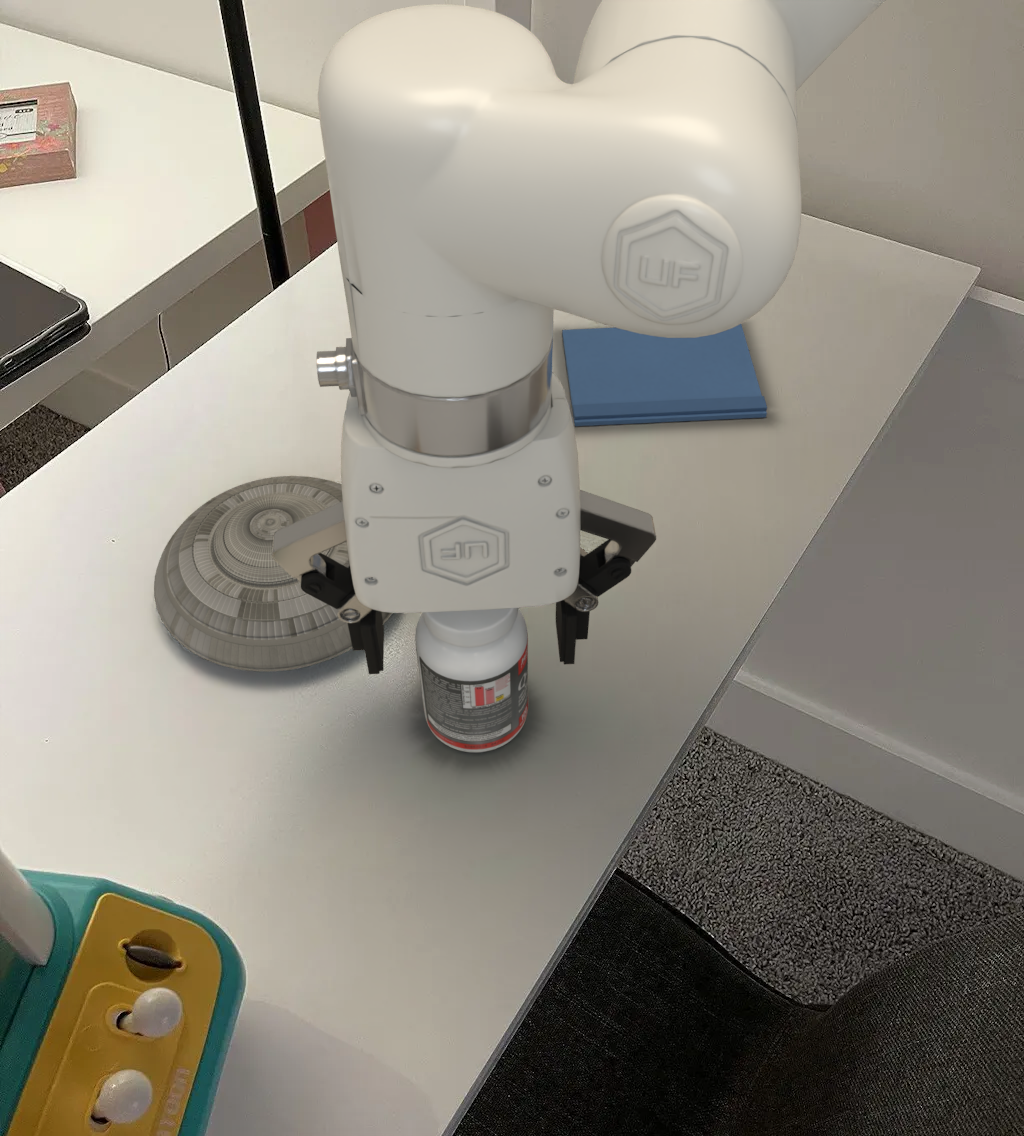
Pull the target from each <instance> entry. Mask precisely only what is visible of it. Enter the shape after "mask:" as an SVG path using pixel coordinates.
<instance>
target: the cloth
mask: <svg viewBox="0 0 1024 1136" xmlns="http://www.w3.org/2000/svg"><path fill="white" fill-rule="evenodd" d="M561 336H562V343H563V344H562V345H563V351H564V356H565V366H566V373H567V380H568V388H569V395H570V404H571V411H572V419H573V425H574V427H590V426H608V425H630V424H633V425H634V424H650V423H651V424H655V423H673V422H674V423H675V422H694V421H695V422H698V421H716V420H717V421H718V420H737V419H738V420H739V419H757V418H758V419H759V418H760V419H761V418H767V414H768V412H767V411H768V406H767V402H766V399H765V396H764V395H762V391H761V387H760V384H759V380H758V377H757V373H756V370H755V366H754V363H753V360H752V357H751V353H750V349H749V346H748V343H747V342H748V341H747V339H746V335H745V332H744V328H743V325H742V323H741V324H739V325H737V326H735V327H733V328H731V329H728V330H726V331H723V332H720V333H716V334H713V335H708V336H702V337H695V338H666V337H657V336H651V335H645V334H639V333H635V332H631V331H627V330H623V329H619V328H615V327H596V328H574V329H571V328H570V329H562V330H561Z"/></svg>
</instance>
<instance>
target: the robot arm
mask: <svg viewBox="0 0 1024 1136" xmlns="http://www.w3.org/2000/svg"><path fill="white" fill-rule="evenodd" d="M886 1H887V0H601V1H600V2H599V4H598V5H597V8H596V9H595V12H594V14H593V16H592V19H591V21H590V23H589V26H588V27H587V30H586V33H585V35H584V38H583V40H582V45H581V48H580V52H579V56H578V60H577V64H576V68H575V71H574V77H573V81H572V83H568V82H564V81H562V79H560V78H559V77H558V75H557V73H556V70H555V67H554V64H553V62H552V59H551V57H550V55H549V54H548V52H547V50H546V48H545V46H544V45H543V44H542V42H541V41H540V39H539V38H538V37H537V36H536V35H535V34H534V33H533V32H532V31H530V29H528V28H526V26H524V25H523V24H521V23H520V22H518V21H516V20H514V19H513V18H511V17H509V16H506V15H504V14H503V13H500V12H497V11H493V10H490V9H487V8H482V7H476V6H472V5H464V4H463V5H462V4H455V3H454V4H452V3H451V4H450V3H448V4H447V3H434V4H419V5H417V4H416V5H412V6H405V7H401V8H396V9H391V10H389V11H388V10H387V11H385V12H380V13H379V14H376V15H373V16H371V17H368V18H366V19H364V20H363V21H360V22H359V23H356V24H355V25H354V26H353V27H351V28H350V29H349V30H347V31H346V32H345V33H343V34H342V36H340V37H339V38H338V39H337V40H336V42H335V43H334V44H333V45H332V46H331V48H330V50H329V52H328V54H327V56H326V57H325V60H324V61H323V64H322V67H321V71H320V75H319V79H318V89H317V105H318V116H319V117H318V118H319V126H320V133H321V139H322V140H321V141H322V146H323V152H324V153H323V154H324V160H325V168H326V174H327V181H328V188H329V194H330V201H331V209H332V216H333V223H334V229H335V236H336V243H337V249H338V257H339V263H340V269H341V276H342V282H343V288H344V295H345V301H346V302H345V303H346V308H347V315H348V320H349V321H348V322H349V330H350V336H351V337H347V338H345V346H336V347H335V350H323V351H322V350H321V351H320V350H319V351H316V374H317V381H318V385H319V387H320V388H324V387H338V389H339V390H341V391H345V390H346V391H347V390H348V391H349V393H348V396H347V400H346V406H345V411H344V415H343V421H342V426H341V427H342V428H341V430H342V431H341V439H340V480H341V481H340V484H342V497H343V501H341V502H339V503H337V504H335V505H332V506H330V507H328V508H326V509H324V510H321V511H319V512H317V513H315V514H313V515H310V516H308V517H306V518H304V519H301V520H299V521H297V522H295V523H293V524H290V525H288V526H286V527H284V528H282V529H279V530H277V531H276V532H275V533H274V535H273V544H272V558H273V560H274V561H275V562H276V563H278V564H279V565H280V566H281V567H282V568H283V569H284V570H285V571H286V572H287V573H288V574H289V575H290V576H291V577H293V578H296V579H297V580H298V581H299V582H301V589H302V590H303V591H304V592H305V593H307V594H309V595H311V596H313V597H314V598H316V599H318V600H320V601H322V602H324V603H326V604H328V605H330V606H332V607H334V608H335V609H337V610H338V612H337V616H338V618H339V619H340V620H341V621H343V622H346V623H348V628H349V633H350V638H351V643H352V651H353V652H356V651H357V652H358V651H364V655H365V661H366V666H367V672H368V675H379V674H381V673H380V672H383V671H384V657H385V656H384V653H385V652H384V651H385V649H384V648H385V647H384V646H385V645H384V644H385V643H384V642H385V627H384V625H385V624H383V619H382V612H389V613H392V614H414V613H415V614H417V613H418V614H420V613H421V614H422V612H447V611H469V610H489V609H506V608H519V609H520V608H533V607H542V606H548V605H552V604H555V629H556V638H557V647H558V648H557V649H558V658H559V663H563V665H575V660H576V646H577V645H576V644H577V643H576V642H577V641H578V640H579V641H580V640H581V641H583V640H588V639H589V638H588V637H589V626H590V614H591V613H590V612H591V611H594V610H595V609H596V608H597V607H598V606H599V604H600V603H599V597H600V596H602V595H603V594H605V593H606V592H608V591H609V590H611V589H612V588H614V587H615V586H617V585H618V584H620V583H622V582H623V581H624V580H626V579H627V578H629V577H630V575H631V574H632V567H633V566H634V564H635V563H638V562H639V561H640V560H641V559H642V557H644V556H645V554H646V553H647V552H648V551H649V550H650V548H651V547H652V546H653V545H654V544H655V542H656V541H657V533H656V528H655V522H654V517H653V515H652V514H651V513H649V512H646V511H643V510H641V509H637V508H635V507H632V506H629V505H626V504H623V503H620V502H618V501H614V500H611V499H608V498H605V497H603V496H599V495H598V494H595V493H591V492H588V491H585V490H583V489H581V484H580V482H581V481H580V479H581V478H580V464H579V452H578V445H577V437H576V431H575V426H574V419H573V414H572V412H571V408H570V405H569V401H568V399H567V394H566V391H565V388H564V385H563V383H562V381H561V380H560V379H559V377H558V376H557V374H555V372H553V352H554V351H553V349H554V348H553V347H554V346H553V345H554V315H555V314H554V311H555V310H556V311H560V312H563V313H566V314H570V315H572V316H576V317H579V318H582V319H585V320H588V321H591V322H595V323H598V324H602V325H605V326H609V327H610V328H619V329H623V330H627V331H631V332H635V333H639V334H645V335H651V336H657V337H666V338H695V337H702V336H708V335H713V334H716V333H720V332H723V331H726V330H728V329H731V328H733V327H735V326H737V325H739V324H741V325H742V324H743V323H745V322H747V321H748V320H749V319H751V318H753V317H754V316H755V315H757V314H758V313H759V312H761V311H762V310H763V308H765V307H766V306H767V304H768V303H769V302H770V301H772V299H774V297H775V296H776V294H777V293H778V292H779V290H780V288H781V287H782V286H783V284H784V282H785V281H786V279H787V277H788V274H789V273H790V270H791V269H792V266H793V264H794V260H795V257H796V253H797V251H798V246H799V243H800V242H799V241H800V233H801V225H802V209H803V208H802V207H803V205H802V181H801V164H800V162H801V161H800V144H799V121H798V120H799V119H798V101H797V100H798V99H797V91H798V90H799V89H800V88H801V87H802V85H804V83H806V81H807V80H808V79H809V78H811V76H812V75H813V74H814V73H815V72H816V70H818V69H819V67H820V66H822V64H823V63H824V62H825V61H826V60H827V59H828V58H829V57H830V56H831V55H832V54H833V53H834V52H835V51H836V50H837V49H838V48H839V47H840V46H841V45H842V44H843V43H844V42H845V41H846V40H847V38H849V37H850V36H851V35H852V34H853V33H854V32H855V31H857V29H858V28H859V27H860V26H861V25H862V24H863V23H864V22H865V21H866V20H868V18H869V17H870V16H872V14H873V13H874V12H875V11H876V10H877V9H878V8H880V7H881V6H882V5H883V4H884V3H886ZM581 531H582V532H584V533H587V534H590V535H593V536H595V537H600V538H601V539H602V538H603V539H605V541H604V542H602V543H601V544H600V545H598V546H596V547H595V548H594V549H591V551H590V552H587V551H586V550H584V549H583V547H581ZM344 542H347V546H348V555H349V560H348V561H347V562H346V563H345V564H344V565H342V564H340V563H338V562H336V561H335V560H333V559H331V558H329V557H327V556H326V555H324V554H322V553H321V552H324V551H326V550H328V549H331V548H333V547H335V546H337V545H340V544H342V543H344ZM381 611H382V612H381Z"/></svg>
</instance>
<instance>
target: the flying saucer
mask: <svg viewBox="0 0 1024 1136" xmlns="http://www.w3.org/2000/svg"><path fill="white" fill-rule="evenodd" d="M341 501H343V497H342V483H341V482H340V483H339V482H337V481H334V480H333V481H332V480H330V479H325V478H320V477H314V476H305V475H304V476H303V475H281V476H271V477H265V478H261V479H256V480H252V481H251V480H250V481H249V482H245V483H242V484H240V485H237V486H234V487H231V488H229V489H227V490H225V491H223V492H221V493H219V494H218V495H216V496H214V497H212V498H211V499H209V500H208V501H206V502H205V503H203V504H202V505H200V506H199V507H198V508H197V509H195V510H194V511H193V512H192V513H191V514H190V515H189V516H188V517H187V518H186V519H185V520H184V521H183V522H182V523H181V524H180V525H179V527H178V528H177V529H176V530H175V532H174V533H173V534H172V536H171V537H170V539H169V540H168V542H167V544H166V545H165V546H164V549H163V551H162V553H161V555H160V559H159V561H158V563H157V567H156V570H155V573H154V574H155V575H154V580H153V581H154V582H153V596H154V601H155V606H156V609H157V612H158V615H159V617H160V620H161V621H162V623H163V625H164V626H165V628H166V630H167V631H168V632H169V633H170V634H171V636H172V637H173V638H174V639H175V640H176V641H177V642H178V643H179V644H181V645H182V646H183V647H184V648H185V649H187V650H188V651H190V652H192V653H193V654H194V655H196V656H198V657H200V658H202V659H203V660H206V661H209V662H211V663H213V664H217V665H219V666H222V667H227V668H229V669H230V668H231V669H236V670H240V671H247V672H248V671H250V672H283V671H290V670H297V669H301V668H306V667H310V666H314V665H317V664H320V663H323V662H326V661H329V660H332V659H333V658H336V657H339V656H341V655H343V654H345V653H347V652H348V651H350V650H353V648H352V643H351V638H350V633H349V628H348V623H346V622H343V621H341V620H340V619H339V618H338V616H337V612H338V610H337V609H335V608H334V607H332V606H330V605H328V604H326V603H324V602H322V601H320V600H318V599H316V598H314V597H313V596H311V595H309V594H307V593H305V592H304V591H303V590H302V589H301V582H299V581H298V580H297V579H296V578H293V577H291V576H290V575H289V574H288V573H287V572H286V571H285V570H284V569H283V568H282V567H281V566H280V565H279V564H278V563H276V562H275V561H274V560H273V558H272V544H273V535H274V533H275V532H276V531H277V530H279V529H282V528H284V527H286V526H288V525H290V524H293V523H295V522H297V521H299V520H301V519H304V518H306V517H308V516H310V515H313V514H315V513H317V512H319V511H321V510H324V509H326V508H328V507H330V506H332V505H335V504H337V503H339V502H341ZM321 553H322V554H324V555H326V556H327V557H329V558H331V559H333V560H335V561H336V562H338V563H340V564H342V565H344V564H345V563H346V562H347V561H348V560H349V555H348V546H347V542H344V543H342V544H340V545H337V546H335V547H333V548H331V549H328V550H326V551H324V552H321ZM381 612H382V611H381ZM392 615H393V613H389V612H382V619H383V625H385V623H386V622H387V621H388V620H389V618H390V617H391V616H392Z"/></svg>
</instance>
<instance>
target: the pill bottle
mask: <svg viewBox="0 0 1024 1136" xmlns="http://www.w3.org/2000/svg"><path fill="white" fill-rule="evenodd" d="M415 626H416V627H415V634H414V639H415V643H414V644H415V653H416V658H417V666H418V673H419V682H420V689H421V698H422V707H423V712H424V717H425V722H426V723H427V726H428V728H429V729H430V731H431V732H432V734H433V735H434V736H435V738H437V739H438V740H439V741H440V742H441V743H443V744H444V745H446V746H447V747H450V748H451V749H454V750H457V751H460V752H466V753H484V752H485V753H486V752H490V751H493V750H496V749H499V748H501V747H503V746H505V745H506V744H508V743H509V742H511V741H512V740H513V739H514V738H515V737H516V736H517V735H518V734H519V733H520V732H521V730H523V729H522V728H523V727H524V725H525V724H526V723H525V722H526V720H527V716H528V713H529V712H528V711H529V655H528V654H529V635H528V634H529V633H528V626H527V622H526V619H525V617H524V615H523V613H522V610H520V608H506V609H489V610H469V611H447V612H422V613H421V614H420V616H419V618H418V621H417V622H416V625H415Z"/></svg>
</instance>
